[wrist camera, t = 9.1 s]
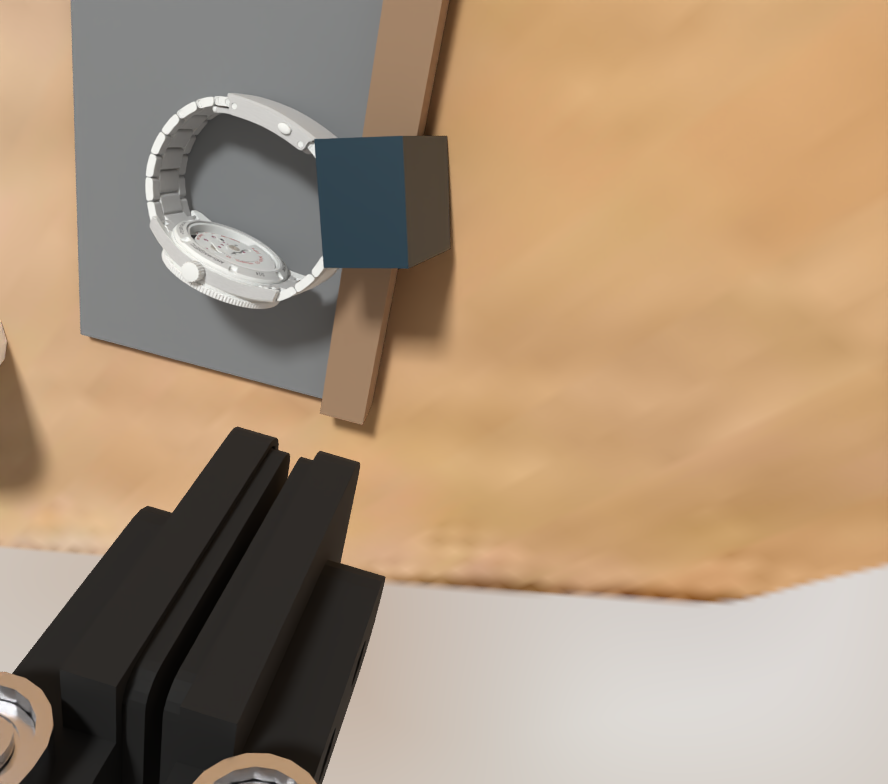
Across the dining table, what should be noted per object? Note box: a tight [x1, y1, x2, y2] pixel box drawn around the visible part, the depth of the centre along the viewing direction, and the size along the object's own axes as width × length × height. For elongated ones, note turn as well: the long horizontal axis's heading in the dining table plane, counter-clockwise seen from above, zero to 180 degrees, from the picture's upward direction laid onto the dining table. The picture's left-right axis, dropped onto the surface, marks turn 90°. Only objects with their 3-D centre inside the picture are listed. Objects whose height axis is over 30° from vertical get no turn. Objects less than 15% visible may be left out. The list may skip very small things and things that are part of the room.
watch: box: [145, 93, 451, 309], centre depth 32 cm, size 6×8×11 cm
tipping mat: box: [71, 0, 449, 425], centre depth 32 cm, size 24×14×2 cm, turn 168°
